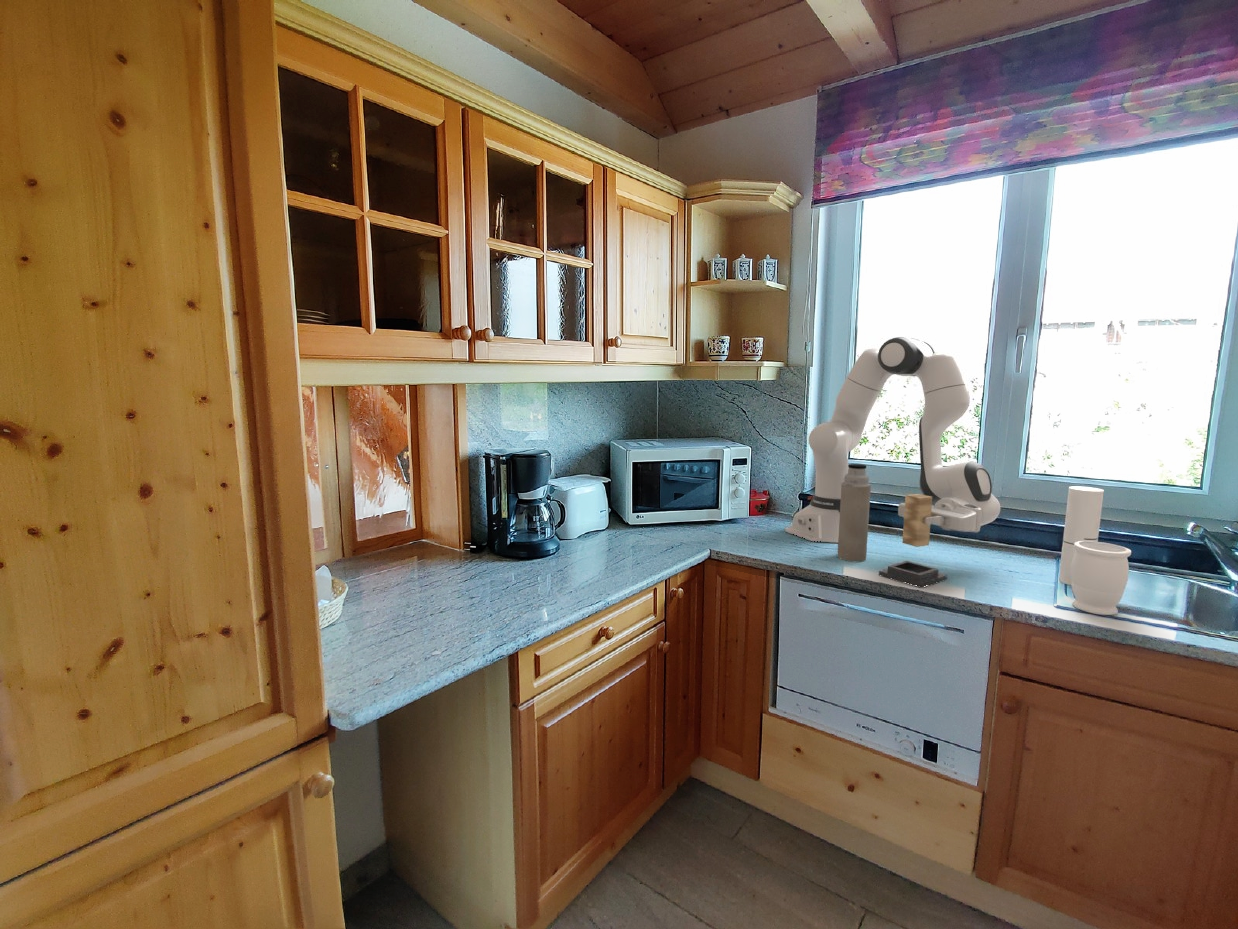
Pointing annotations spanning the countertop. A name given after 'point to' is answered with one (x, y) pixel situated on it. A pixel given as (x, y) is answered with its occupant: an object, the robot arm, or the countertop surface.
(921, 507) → the oak wick peg
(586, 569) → the countertop surface
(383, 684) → the countertop surface
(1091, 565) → the jar
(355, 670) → the countertop surface
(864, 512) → the thermos bottle
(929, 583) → the dark rectangular socket base
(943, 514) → the robot arm
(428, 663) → the countertop surface
